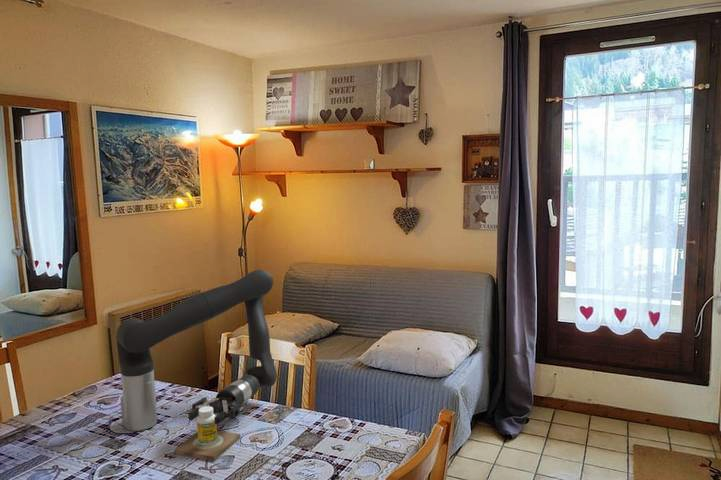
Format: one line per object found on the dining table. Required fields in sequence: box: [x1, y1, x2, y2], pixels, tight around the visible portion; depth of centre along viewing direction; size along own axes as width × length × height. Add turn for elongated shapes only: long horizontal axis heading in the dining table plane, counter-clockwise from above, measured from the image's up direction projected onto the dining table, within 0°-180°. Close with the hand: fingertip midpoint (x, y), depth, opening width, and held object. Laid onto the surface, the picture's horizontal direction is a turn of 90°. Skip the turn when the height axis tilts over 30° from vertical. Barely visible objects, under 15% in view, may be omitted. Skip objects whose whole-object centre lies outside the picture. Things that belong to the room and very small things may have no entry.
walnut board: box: [173, 429, 241, 462], centre depth 150 cm, size 13×13×1 cm
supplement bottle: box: [196, 405, 218, 445], centre depth 150 cm, size 5×5×10 cm
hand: (202, 419), depth 148 cm, fingers open, 8 cm apart
